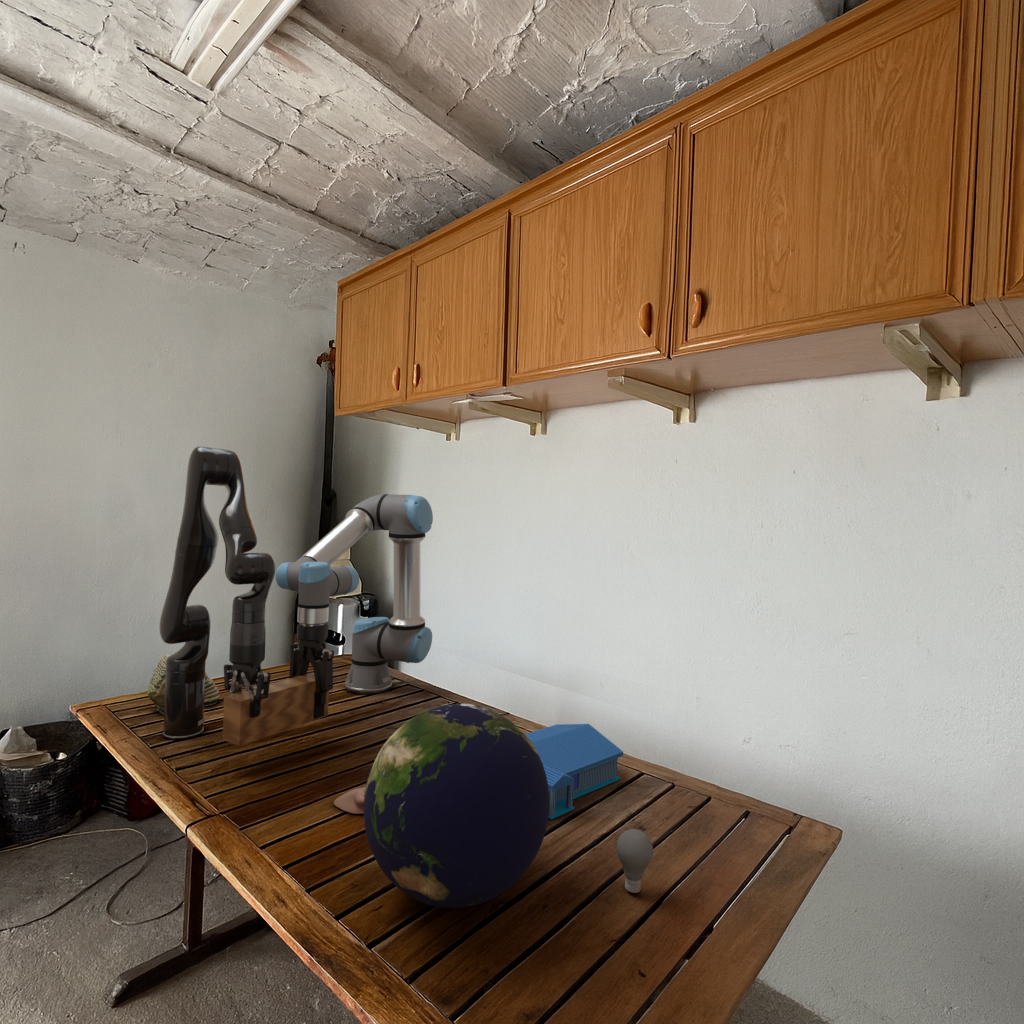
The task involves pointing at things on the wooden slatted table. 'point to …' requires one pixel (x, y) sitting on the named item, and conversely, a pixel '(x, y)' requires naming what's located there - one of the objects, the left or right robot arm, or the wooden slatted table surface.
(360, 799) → the anatomical model
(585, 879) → the wooden slatted table surface
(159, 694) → the fossil
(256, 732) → the box
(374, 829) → the globe
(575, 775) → the model building
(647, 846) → the light bulb
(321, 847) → the wooden slatted table surface
